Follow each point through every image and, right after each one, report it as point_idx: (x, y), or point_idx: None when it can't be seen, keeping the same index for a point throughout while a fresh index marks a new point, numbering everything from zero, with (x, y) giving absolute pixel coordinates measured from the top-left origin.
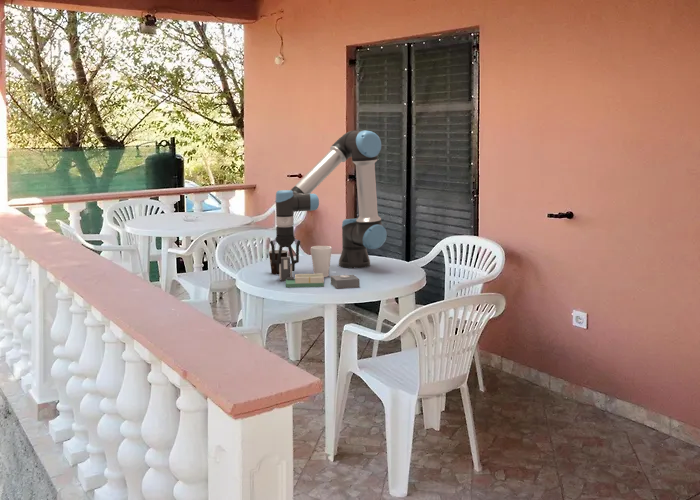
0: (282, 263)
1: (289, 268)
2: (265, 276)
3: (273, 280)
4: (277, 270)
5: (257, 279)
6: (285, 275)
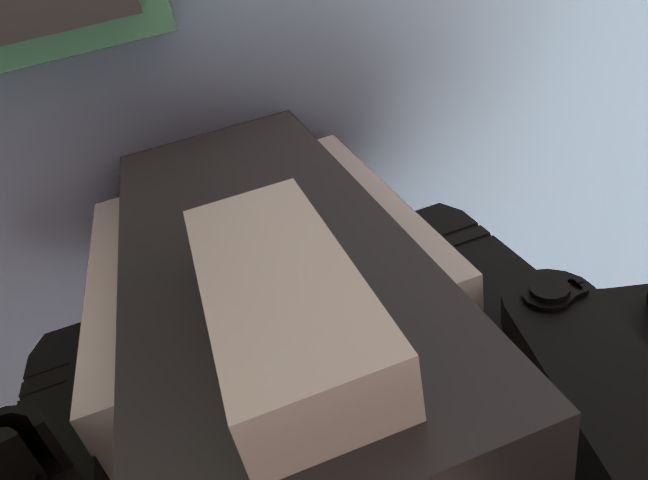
0: (402, 301)
1: (141, 281)
2: None
3: (425, 139)
4: (444, 217)
5: (636, 162)
6: (228, 167)
